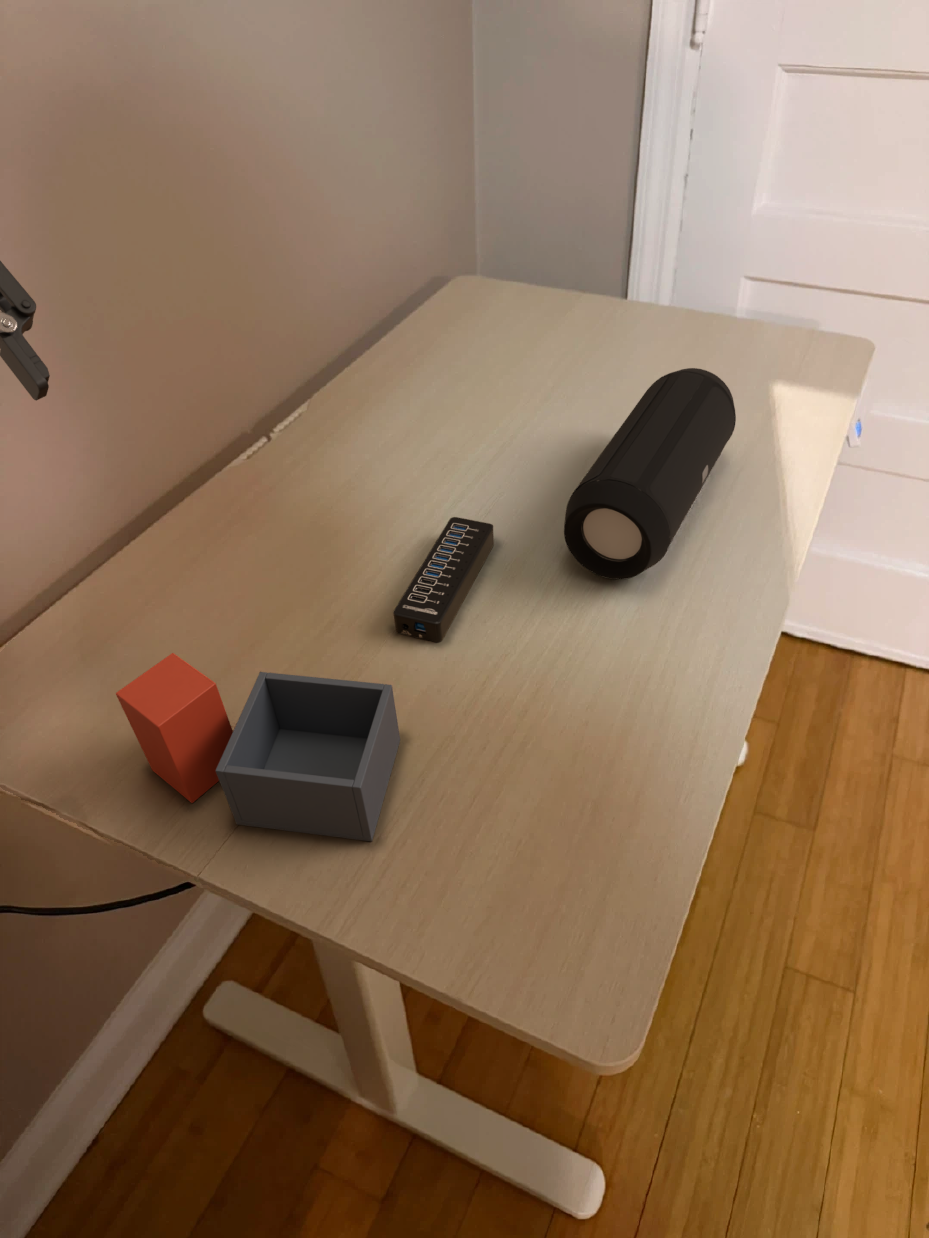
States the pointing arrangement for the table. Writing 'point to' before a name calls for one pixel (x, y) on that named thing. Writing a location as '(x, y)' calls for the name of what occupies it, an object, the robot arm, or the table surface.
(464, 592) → the multiport hub
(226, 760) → the tub
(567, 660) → the table surface
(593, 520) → the portable speaker
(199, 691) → the block
